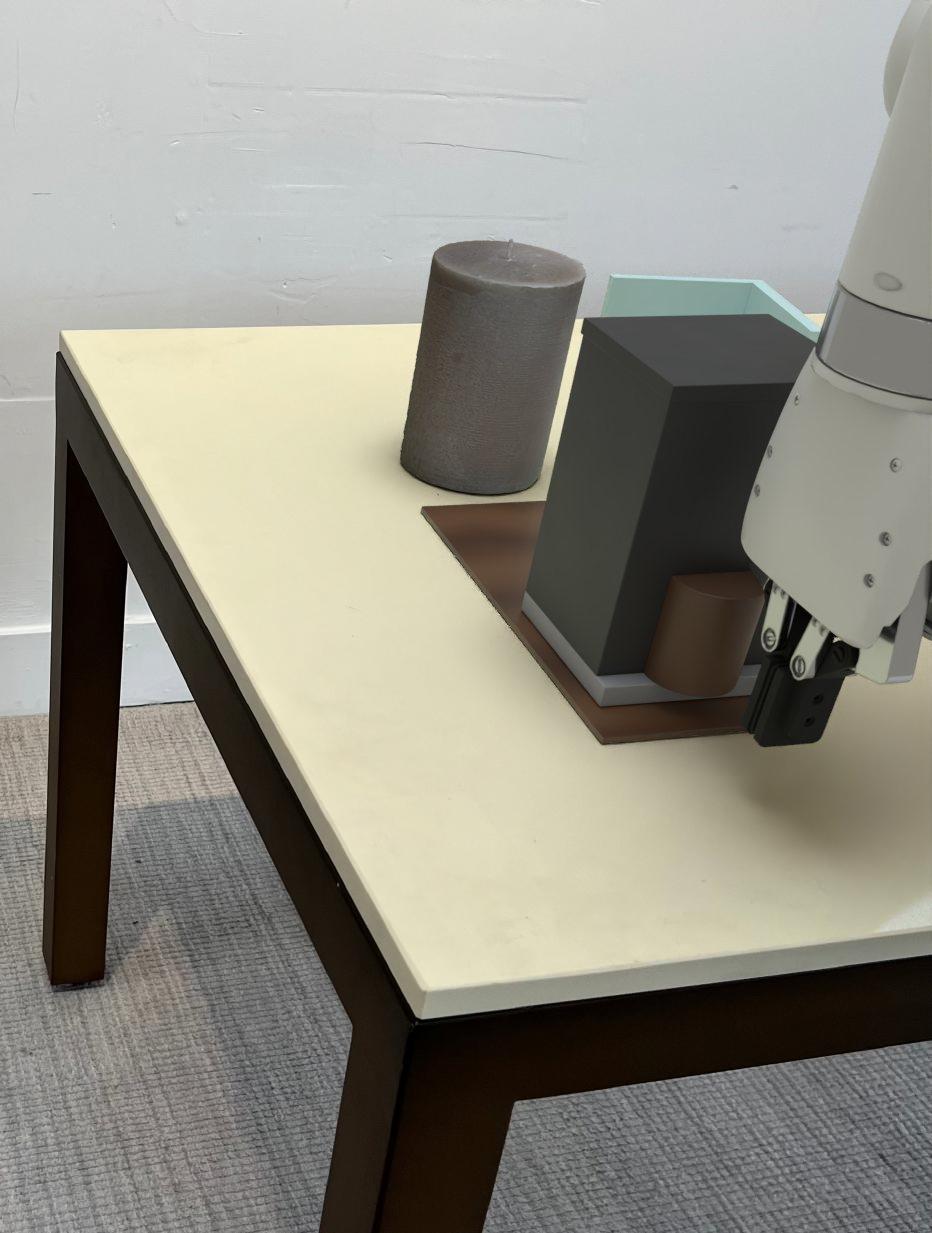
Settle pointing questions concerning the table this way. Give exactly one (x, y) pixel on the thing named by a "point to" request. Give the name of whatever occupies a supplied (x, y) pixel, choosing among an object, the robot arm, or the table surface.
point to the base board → (500, 564)
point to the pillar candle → (490, 364)
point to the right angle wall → (700, 299)
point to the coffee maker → (661, 505)
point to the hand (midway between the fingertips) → (779, 734)
